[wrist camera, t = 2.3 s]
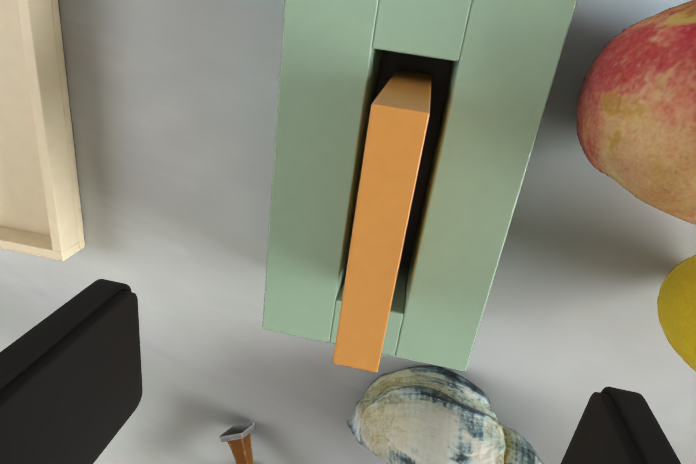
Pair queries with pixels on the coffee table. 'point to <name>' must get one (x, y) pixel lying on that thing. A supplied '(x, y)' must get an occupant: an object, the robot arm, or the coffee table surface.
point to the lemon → (680, 309)
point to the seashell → (434, 421)
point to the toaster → (435, 165)
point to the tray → (36, 135)
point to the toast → (382, 216)
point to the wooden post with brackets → (240, 442)
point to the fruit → (646, 111)
